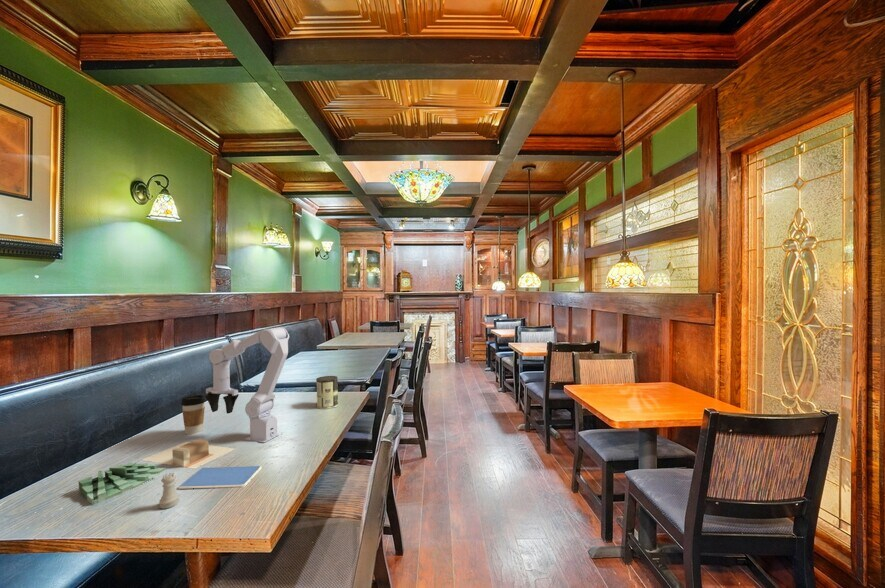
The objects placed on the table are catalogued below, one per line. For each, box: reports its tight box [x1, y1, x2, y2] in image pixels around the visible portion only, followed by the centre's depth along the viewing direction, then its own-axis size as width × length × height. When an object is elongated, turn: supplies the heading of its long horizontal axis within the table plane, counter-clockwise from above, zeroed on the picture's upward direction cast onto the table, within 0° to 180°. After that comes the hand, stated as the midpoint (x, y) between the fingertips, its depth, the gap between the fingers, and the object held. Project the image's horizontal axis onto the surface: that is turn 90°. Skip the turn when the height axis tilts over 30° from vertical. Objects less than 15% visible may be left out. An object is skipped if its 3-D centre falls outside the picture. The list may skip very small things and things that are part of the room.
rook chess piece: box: [158, 472, 180, 510], centre depth 101 cm, size 4×4×8 cm
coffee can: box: [315, 375, 339, 410], centre depth 188 cm, size 10×10×14 cm
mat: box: [141, 441, 235, 470], centre depth 132 cm, size 24×16×1 cm, turn 72°
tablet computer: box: [177, 465, 262, 490], centre depth 116 cm, size 19×13×1 cm, turn 93°
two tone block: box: [172, 438, 210, 468], centre depth 127 cm, size 9×5×5 cm, turn 162°
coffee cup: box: [180, 394, 207, 435], centre depth 154 cm, size 8×8×15 cm
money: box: [77, 462, 167, 506], centre depth 112 cm, size 20×16×5 cm
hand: (222, 412), depth 151 cm, fingers open, 7 cm apart
